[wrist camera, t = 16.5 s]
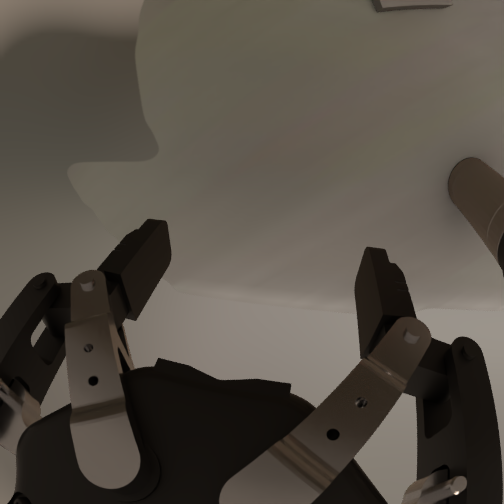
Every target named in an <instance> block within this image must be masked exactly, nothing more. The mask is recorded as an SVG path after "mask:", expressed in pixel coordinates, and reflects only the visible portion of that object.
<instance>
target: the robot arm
mask: <svg viewBox="0 0 504 504" xmlns="http://www.w3.org/2000/svg"><path fill="white" fill-rule="evenodd" d="M448 190H449V195H450V197H451V200H452V201H453V203H454V204H455V205H456V206H457V207H458V209H459V210H460V211H461V212H462V214H463V215H464V216H465V218H466V219H467V220H468V221H469V223H470V224H471V225H472V227H473V228H474V229H475V231H476V232H477V233H478V235H479V236H480V238H481V239H482V240H483V242H484V243H485V245H486V246H487V247H488V249H489V250H490V252H491V253H492V255H493V256H494V258H495V259H496V261H497V262H498V264H499V265H500V267H501V269H502V270H503V276H504V178H503V177H502V176H501V175H500V174H499V173H497V172H496V171H495V170H494V169H492V168H491V167H490V166H488V165H487V164H486V163H484V162H483V161H481V160H480V159H477V158H467V159H465V160H463V161H461V162H460V163H458V164H457V166H456V167H455V168H454V169H453V171H452V173H451V175H450V178H449V183H448ZM170 261H171V246H170V239H169V232H168V225H167V222H166V221H164V220H155V219H147V220H146V221H145V222H144V224H143V225H142V226H141V227H140V228H139V229H136V230H134V231H132V232H131V233H129V234H127V235H126V236H125V237H124V238H123V239H122V241H121V242H120V244H118V245H117V246H116V248H115V250H113V251H112V252H111V253H110V254H109V256H108V257H107V258H106V259H105V260H104V262H103V263H102V264H101V265H100V266H99V268H98V269H97V270H88V271H85V272H82V273H81V274H79V275H78V276H77V277H75V278H74V280H73V281H72V283H57V281H56V279H55V277H54V275H53V274H52V273H48V272H47V273H41V274H39V275H36V276H35V277H33V278H32V279H31V280H30V281H29V282H28V284H27V285H26V286H25V287H24V289H23V290H22V292H21V293H20V294H19V295H18V296H17V298H16V299H15V300H14V302H13V303H12V304H11V305H10V307H9V308H8V309H7V311H6V312H5V314H4V315H3V316H2V318H1V319H0V445H1V446H2V447H4V448H5V449H7V450H9V451H10V452H11V453H13V454H14V455H16V467H17V472H16V474H17V475H16V487H15V492H14V495H13V497H12V498H11V500H10V501H9V503H8V504H388V503H387V502H386V501H385V499H384V498H383V497H382V495H381V494H380V493H379V491H378V490H377V489H376V487H375V486H374V485H373V483H372V482H371V481H370V479H369V478H368V477H367V476H366V474H365V473H364V471H363V470H362V469H361V467H360V466H359V465H358V463H357V462H356V461H355V460H354V456H355V455H356V454H357V453H358V452H359V450H360V449H361V448H362V447H363V446H364V444H365V443H366V442H367V441H368V439H369V438H370V437H371V436H372V435H373V433H374V432H375V431H376V429H377V428H378V427H379V425H380V424H381V423H382V421H383V420H384V419H385V417H386V416H387V415H388V413H389V412H390V410H391V409H392V408H393V406H394V405H395V403H396V402H397V400H398V399H399V397H400V396H401V394H402V393H406V394H409V395H412V396H415V397H416V411H417V445H418V446H417V481H415V482H414V483H413V484H411V485H410V486H409V487H408V489H407V490H406V492H405V494H404V497H403V501H402V504H502V500H503V497H502V495H503V489H502V488H503V483H502V482H503V481H502V460H501V447H500V438H499V430H498V422H497V416H496V410H495V404H494V399H493V394H492V390H491V384H490V380H489V376H488V372H487V368H486V364H485V360H484V356H483V353H482V350H481V348H480V347H479V346H478V344H477V343H476V342H475V341H473V340H472V339H470V338H468V337H458V338H456V339H455V340H454V341H453V343H452V344H451V345H450V344H447V343H444V342H441V341H438V340H436V339H434V338H432V337H431V334H430V331H429V329H428V327H427V326H426V325H425V324H424V323H423V322H421V321H420V320H418V319H417V318H416V314H415V310H414V307H413V303H412V300H411V296H410V293H409V292H408V287H407V284H406V280H405V277H404V274H403V272H402V271H401V269H400V268H399V267H398V266H397V265H396V264H395V263H390V262H389V259H388V256H387V253H386V250H385V249H380V248H373V247H366V249H365V251H364V254H363V257H362V261H361V264H360V267H359V270H358V274H357V277H356V281H355V301H356V310H357V319H358V330H359V343H360V356H361V357H360V358H361V359H362V360H361V361H360V362H359V364H358V365H357V366H356V367H355V368H354V369H353V370H352V371H351V373H350V374H349V375H348V376H347V377H346V378H345V379H344V380H343V381H342V382H341V384H339V386H338V387H337V388H336V389H335V390H334V391H333V392H332V393H331V394H330V395H329V396H328V397H327V398H326V399H325V400H324V401H323V402H322V403H321V404H320V405H319V406H318V407H317V408H315V407H314V406H313V405H312V404H311V403H309V402H308V401H306V400H304V399H303V398H301V397H299V396H297V395H294V394H292V393H290V390H291V384H290V383H282V382H275V381H267V380H261V379H244V380H218V379H216V378H214V377H211V376H209V375H207V374H205V373H203V372H201V371H199V370H197V369H195V368H193V367H191V366H189V365H185V364H181V363H177V362H172V361H169V360H165V359H161V358H158V360H157V362H156V364H155V366H154V367H142V368H137V369H135V368H134V364H133V361H132V358H131V354H130V350H129V346H128V342H127V338H126V334H125V329H124V326H123V322H124V320H125V318H127V319H131V320H134V321H136V320H137V318H138V316H139V315H140V313H141V311H142V310H143V308H144V306H145V305H146V303H147V301H148V299H149V298H150V296H151V294H152V293H153V291H154V289H155V287H156V286H157V284H158V283H159V281H160V279H161V278H162V276H163V274H164V273H165V271H166V270H167V268H168V266H169V264H170ZM41 320H43V322H44V324H45V325H46V328H45V330H44V331H43V332H42V334H41V336H40V337H39V339H38V340H37V342H36V344H35V345H34V347H32V345H31V335H32V333H33V332H34V330H35V329H36V327H37V326H38V324H39V322H40V321H41ZM65 356H66V362H67V373H68V383H69V391H70V398H71V403H70V404H68V405H66V406H64V407H62V408H61V409H59V410H57V411H55V412H53V413H51V414H49V415H47V416H45V417H44V418H42V417H41V416H40V414H41V408H40V405H41V403H42V401H43V399H44V397H45V395H46V393H47V391H48V389H49V387H50V385H51V383H52V381H53V379H54V377H55V375H56V373H57V371H58V369H59V367H60V366H61V364H62V362H63V360H64V358H65Z"/></svg>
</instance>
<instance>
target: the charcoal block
mask: <svg viewBox="0 0 504 504" xmlns="http://www.w3.org/2000/svg"><path fill="white" fill-rule="evenodd" d="M372 2H373V4H374V6H375V9H376V11H377V12H384V11H394V10H407V9H427V8H446V7H449V6H452V5H453V3H452V0H372Z"/></svg>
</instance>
